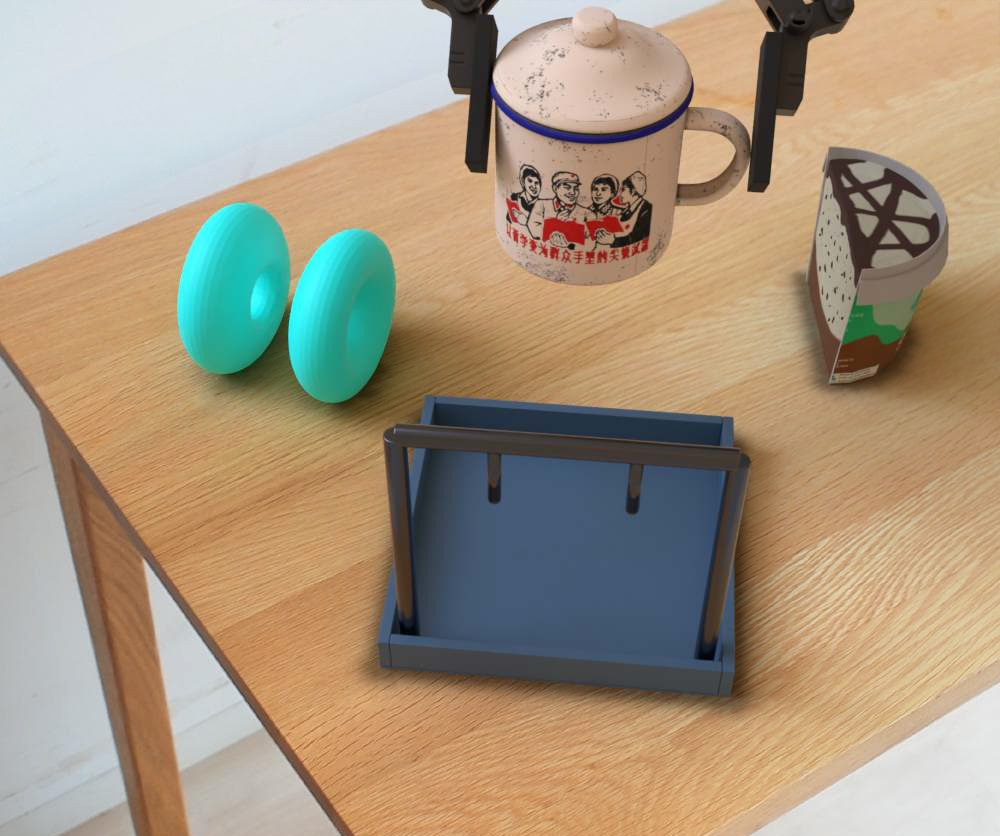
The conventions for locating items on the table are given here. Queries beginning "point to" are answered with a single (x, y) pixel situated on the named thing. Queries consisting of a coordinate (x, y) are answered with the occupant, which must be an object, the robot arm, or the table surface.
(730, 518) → the rack frame
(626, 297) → the table surface
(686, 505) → the drip tray
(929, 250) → the food container
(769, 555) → the table surface
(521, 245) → the teacup with lid
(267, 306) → the donuts
